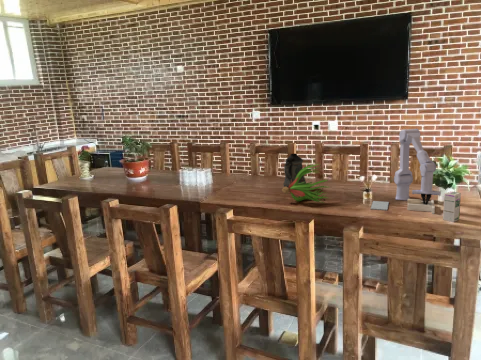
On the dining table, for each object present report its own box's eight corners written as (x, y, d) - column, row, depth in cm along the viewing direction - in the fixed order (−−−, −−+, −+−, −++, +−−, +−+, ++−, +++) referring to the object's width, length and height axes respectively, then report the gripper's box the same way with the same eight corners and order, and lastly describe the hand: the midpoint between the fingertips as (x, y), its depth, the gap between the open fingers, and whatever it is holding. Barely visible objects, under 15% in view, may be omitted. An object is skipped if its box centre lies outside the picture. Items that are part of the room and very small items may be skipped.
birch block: (407, 207, 228) (407, 198, 227) (420, 207, 226) (420, 199, 225) (407, 209, 224) (407, 200, 223) (420, 210, 222) (421, 201, 221)
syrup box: (453, 222, 200) (456, 194, 197) (442, 219, 204) (444, 192, 201) (459, 219, 203) (461, 192, 200) (447, 217, 208) (449, 190, 205)
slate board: (373, 201, 241) (373, 200, 241) (388, 202, 238) (388, 201, 237) (370, 209, 227) (370, 208, 227) (387, 210, 223) (387, 209, 223)
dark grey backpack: (306, 185, 290) (306, 151, 285) (306, 191, 272) (306, 156, 266) (284, 185, 293) (283, 152, 288) (282, 191, 275) (281, 156, 269)
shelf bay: (407, 204, 233) (407, 198, 233) (433, 205, 228) (433, 200, 227) (407, 211, 219) (407, 205, 218) (434, 213, 214) (434, 207, 213)
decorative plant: (279, 207, 258) (321, 200, 264) (292, 209, 233) (338, 202, 240) (274, 167, 257) (316, 162, 263) (287, 166, 232) (333, 160, 239)
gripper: (412, 184, 219) (411, 207, 222) (441, 185, 213) (440, 209, 216) (412, 181, 225) (411, 204, 228) (440, 182, 219) (439, 206, 222)
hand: (425, 206), depth 222 cm, fingers closed
